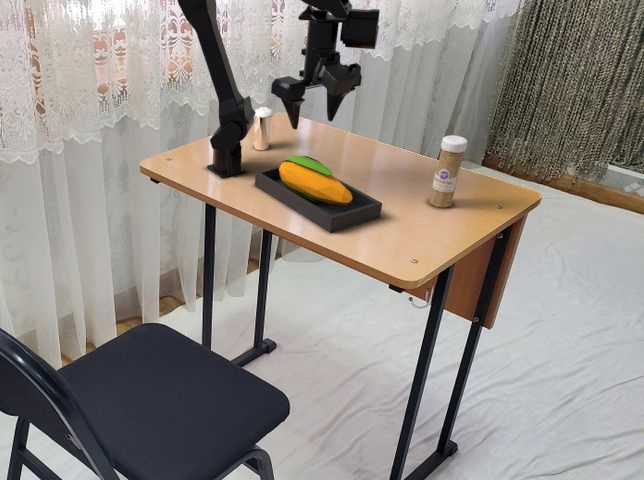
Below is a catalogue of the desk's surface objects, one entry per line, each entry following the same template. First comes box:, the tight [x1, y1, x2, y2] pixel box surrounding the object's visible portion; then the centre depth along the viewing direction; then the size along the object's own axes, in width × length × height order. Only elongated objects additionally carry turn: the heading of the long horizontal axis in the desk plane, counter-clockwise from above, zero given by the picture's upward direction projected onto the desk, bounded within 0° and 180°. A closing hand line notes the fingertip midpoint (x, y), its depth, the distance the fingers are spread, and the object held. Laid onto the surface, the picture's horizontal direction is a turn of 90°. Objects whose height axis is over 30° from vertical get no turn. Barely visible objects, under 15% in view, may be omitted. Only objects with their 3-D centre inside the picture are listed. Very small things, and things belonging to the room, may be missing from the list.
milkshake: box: [253, 106, 275, 151], centre depth 169 cm, size 4×5×10 cm
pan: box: [254, 165, 383, 233], centre depth 149 cm, size 25×13×3 cm, turn 31°
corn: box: [279, 155, 353, 205], centre depth 147 cm, size 7×8×20 cm
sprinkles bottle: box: [428, 135, 468, 208], centre depth 144 cm, size 5×5×14 cm
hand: (312, 124), depth 150 cm, fingers open, 9 cm apart
